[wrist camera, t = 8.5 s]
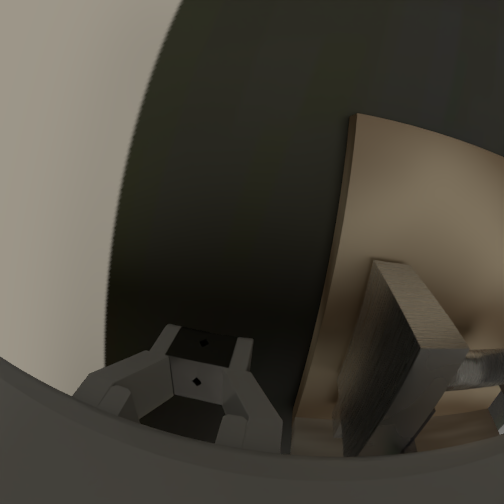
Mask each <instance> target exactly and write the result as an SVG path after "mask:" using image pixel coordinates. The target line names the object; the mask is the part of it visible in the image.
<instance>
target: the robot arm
mask: <svg viewBox="0 0 504 504" xmlns="http://www.w3.org/2000/svg"><path fill="white" fill-rule="evenodd" d="M253 343H254V340H253V339H251V338H244V337H234V336H228V335H222V334H216V333H210V332H206V331H201V330H196V329H192V328H187V327H182V326H178V325H173V324H168V325H166V326H165V328H164V329H163V331H162V332H161V334H160V335H159V337H158V339H157V340H156V342H155V343H154V345H153V346H152V348H151V349H150V351H147V350H145V351H142V352H140V353H138V354H136V355H133V356H131V357H129V358H126V359H124V360H121V361H119V362H117V363H114V364H112V365H109V366H107V367H105V368H102V369H100V370H97V371H95V372H93V373H90V374H89V375H88V376H87V378H86V379H85V380H84V382H83V383H82V384H81V385H80V387H79V388H78V389H77V391H76V392H75V393H74V395H73V396H70V395H67V394H65V393H63V392H61V391H59V390H57V389H55V388H53V387H51V386H49V385H47V384H46V383H44V382H41V381H40V380H38V379H36V378H34V377H33V376H31V375H29V374H27V373H26V372H24V371H22V370H21V369H19V368H17V367H16V366H14V365H12V364H11V363H9V362H8V361H6V360H4V359H3V358H1V357H0V504H504V434H501V435H498V436H494V437H491V438H487V439H483V440H479V441H475V442H471V443H467V444H462V445H457V446H452V447H447V448H442V449H436V450H429V451H422V452H414V453H406V454H395V455H382V456H361V457H326V456H304V455H290V454H280V446H281V436H282V425H283V421H282V419H281V418H280V416H279V415H278V413H277V412H276V410H275V409H274V407H273V406H272V404H271V403H270V401H269V400H268V398H267V396H266V395H265V393H264V392H263V390H262V389H261V387H260V386H259V384H258V382H257V381H256V379H255V378H254V376H253V375H252V373H251V372H250V367H251V360H252V351H253ZM174 395H179V396H183V397H188V398H193V399H198V400H202V401H206V402H210V403H215V404H219V405H222V407H223V409H224V412H225V414H226V415H225V416H223V418H222V421H221V425H220V428H219V431H218V435H217V438H216V441H215V444H214V443H209V442H205V441H200V440H196V439H192V438H188V437H184V436H180V435H176V434H172V433H169V432H165V431H162V430H158V429H155V428H152V427H149V426H145V425H142V424H140V421H139V419H140V418H142V417H143V416H145V415H146V414H148V413H149V412H151V411H152V410H154V409H155V408H157V407H158V406H160V405H161V404H162V403H164V402H165V401H167V400H168V399H170V398H171V397H173V396H174Z"/></svg>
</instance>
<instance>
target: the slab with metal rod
mask: <svg viewBox="0 0 504 504" xmlns="http://www.w3.org/2000/svg"><path fill="white" fill-rule="evenodd" d="M469 349H470V348H469V346H468V345H467V343H466V342H465V340H464V339H463V337H462V336H461V334H460V333H459V331H458V330H457V328H456V327H455V325H454V324H453V322H452V321H451V319H450V318H449V317H448V315H447V314H446V312H445V311H444V309H443V308H442V307H441V305H440V304H439V303H438V301H437V300H436V298H435V297H434V296H433V294H432V293H431V292H430V290H429V289H428V288H427V286H426V285H425V284H424V283H423V281H422V280H421V279H420V277H419V276H418V275H417V274H416V272H415V271H414V270H413V269H412V267H411V266H410V265H407V264H399V263H392V262H384V261H377V260H374V261H373V265H372V269H371V273H370V277H369V280H368V284H367V288H366V292H365V295H364V299H363V302H362V306H361V309H360V313H359V316H358V319H357V323H356V326H355V329H354V332H353V335H352V338H351V341H350V344H349V347H348V350H347V353H346V356H345V359H344V362H343V365H342V367H341V370H340V373H339V376H338V378H337V386H338V396H339V398H338V400H337V402H336V405H335V407H334V409H333V411H332V424H333V438H342V442H343V457H361V456H382V455H395V454H399V453H400V452H401V450H402V449H403V448H404V447H405V446H406V444H407V443H408V442H409V441H410V440H411V438H412V437H413V436H414V435H415V433H416V432H417V431H418V429H419V428H420V427H421V425H422V424H423V423H424V421H425V420H426V419H427V417H428V416H429V414H430V413H431V412H432V410H433V409H434V407H435V406H436V404H437V403H438V401H439V400H440V398H441V397H442V395H443V394H444V392H446V391H457V390H467V389H476V388H483V387H490V386H497V385H502V384H504V348H499V349H475V350H469Z"/></svg>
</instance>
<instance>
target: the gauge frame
mask: <svg viewBox="0 0 504 504" xmlns="http://www.w3.org/2000/svg"><path fill="white" fill-rule="evenodd" d="M374 260H377V261H384V262H392V263H399V264H407V265H410V266H411V267H412V269H413V270H414V271H415V272H416V274H417V275H418V276H419V277H420V279H421V280H422V281H423V283H424V284H425V285H426V286H427V288H428V289H429V290H430V292H431V293H432V294H433V296H434V297H435V298H436V300H437V301H438V303H439V304H440V305H441V307H442V308H443V309H444V311H445V312H446V314H447V315H448V317H449V318H450V319H451V321H452V322H453V324H454V325H455V327H456V328H457V330H458V331H459V333H460V334H461V336H462V337H463V339H464V340H465V342H466V343H467V345H468V346H469V348H470V349H469V350H475V349H499V348H504V157H502V156H499V155H497V154H495V153H492V152H490V151H487V150H485V149H482V148H479V147H477V146H474V145H471V144H469V143H466V142H463V141H460V140H457V139H454V138H451V137H448V136H445V135H442V134H439V133H436V132H433V131H429V130H426V129H422V128H419V127H415V126H411V125H408V124H404V123H400V122H396V121H392V120H387V119H383V118H378V117H374V116H369V115H364V114H359V113H357V114H354V115H352V116H350V117H349V128H348V138H347V147H346V155H345V164H344V171H343V179H342V186H341V193H340V200H339V206H338V213H337V219H336V225H335V231H334V237H333V242H332V248H331V253H330V259H329V264H328V269H327V274H326V279H325V284H324V289H323V293H322V298H321V303H320V307H319V312H318V316H317V320H316V325H315V329H314V333H313V337H312V341H311V345H310V349H309V353H308V357H307V361H306V365H305V368H304V372H303V376H302V379H301V383H300V387H299V390H298V394H297V397H296V400H295V404H294V407H293V415H292V438H291V452H290V455H304V456H326V457H343V442H342V438H333V424H332V411H333V409H334V407H335V405H336V402H337V400H338V398H339V396H338V386H337V378H338V376H339V373H340V370H341V367H342V365H343V362H344V359H345V356H346V353H347V350H348V347H349V344H350V341H351V338H352V335H353V332H354V329H355V326H356V323H357V319H358V316H359V313H360V309H361V306H362V302H363V299H364V295H365V292H366V288H367V284H368V280H369V277H370V273H371V269H372V265H373V261H374ZM501 390H502V392H503V394H504V384H502V385H497V386H490V387H483V388H476V389H467V390H457V391H446V392H444V394H443V395H442V397H441V398H440V400H439V401H438V403H437V404H436V406H435V407H434V408H435V410H436V412H435V413H434V414H433V416H432V417H431V418H430V420H429V421H428V422H427V424H426V425H425V426H424V428H423V429H422V430H421V432H420V433H419V434H418V435H417V437H416V438H415V439H414V440H415V444H416V448H417V452H422V451H429V450H436V449H442V448H447V447H452V446H457V445H462V444H467V443H471V442H475V441H479V440H483V439H487V438H491V437H494V436H498V435H499V432H498V430H497V428H496V425H495V423H494V421H493V419H492V417H491V415H490V412H489V410H488V407H489V406H490V405H491V403H492V402H493V401H494V399H495V398H496V396H497V395H498V394H499V392H500V391H501ZM399 454H400V453H399Z"/></svg>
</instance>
